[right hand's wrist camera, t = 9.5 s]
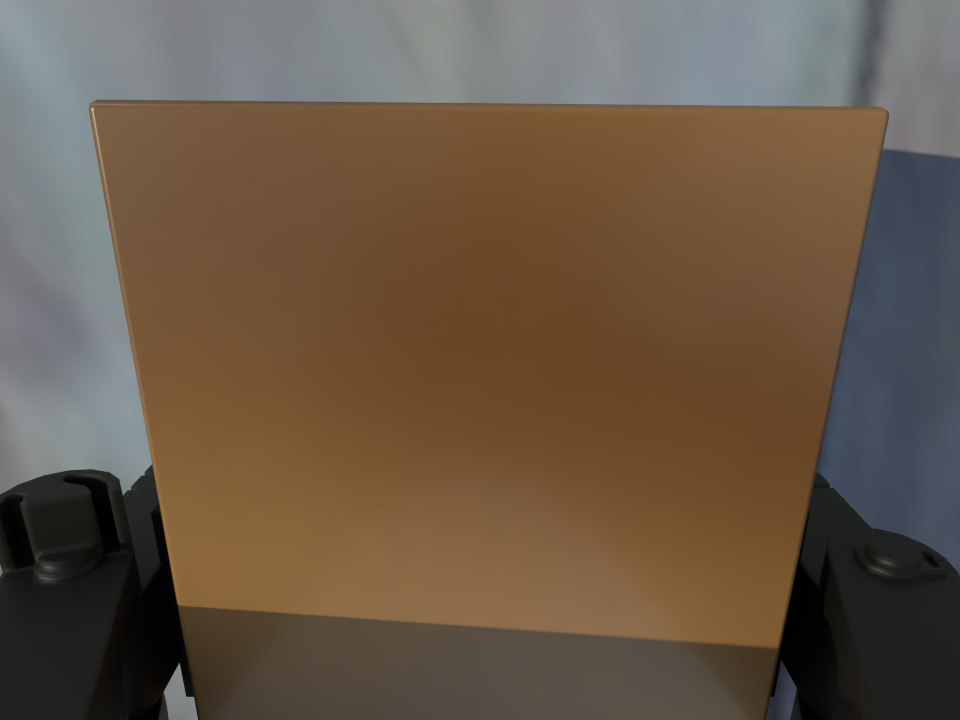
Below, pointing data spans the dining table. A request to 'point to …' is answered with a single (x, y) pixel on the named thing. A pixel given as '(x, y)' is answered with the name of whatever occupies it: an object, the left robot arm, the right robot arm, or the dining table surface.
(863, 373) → the dining table surface
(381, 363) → the bar
